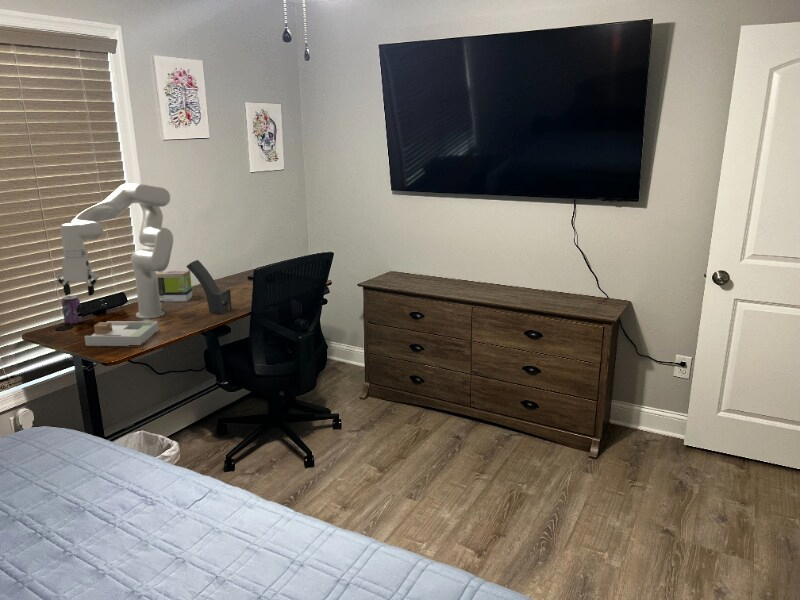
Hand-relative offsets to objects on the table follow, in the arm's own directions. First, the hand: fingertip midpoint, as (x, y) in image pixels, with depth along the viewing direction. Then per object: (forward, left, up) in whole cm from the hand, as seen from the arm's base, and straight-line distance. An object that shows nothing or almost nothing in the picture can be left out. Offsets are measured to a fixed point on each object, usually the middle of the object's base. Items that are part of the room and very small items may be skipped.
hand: (79, 294), depth 249 cm
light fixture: (-40, +41, -19) cm, 60 cm away
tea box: (-60, +17, -19) cm, 65 cm away
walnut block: (0, +8, -16) cm, 18 cm away
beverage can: (-20, -15, -19) cm, 32 cm away
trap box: (0, +16, -19) cm, 25 cm away
